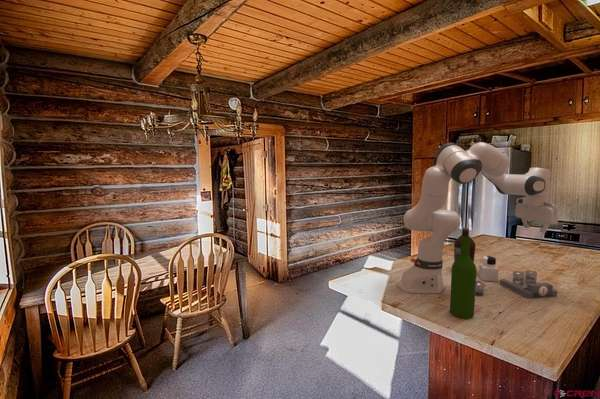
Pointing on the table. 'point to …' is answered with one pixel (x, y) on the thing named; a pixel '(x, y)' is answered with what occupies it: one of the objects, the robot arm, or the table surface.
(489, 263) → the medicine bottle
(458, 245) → the olive oil
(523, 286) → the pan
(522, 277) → the cylinder
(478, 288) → the cylinder
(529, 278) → the cylinder
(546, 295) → the scale
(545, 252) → the table surface
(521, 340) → the table surface
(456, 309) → the wine bottle
